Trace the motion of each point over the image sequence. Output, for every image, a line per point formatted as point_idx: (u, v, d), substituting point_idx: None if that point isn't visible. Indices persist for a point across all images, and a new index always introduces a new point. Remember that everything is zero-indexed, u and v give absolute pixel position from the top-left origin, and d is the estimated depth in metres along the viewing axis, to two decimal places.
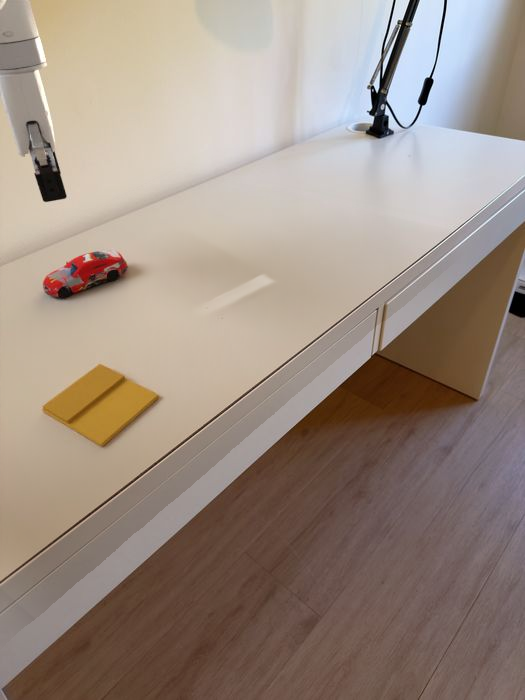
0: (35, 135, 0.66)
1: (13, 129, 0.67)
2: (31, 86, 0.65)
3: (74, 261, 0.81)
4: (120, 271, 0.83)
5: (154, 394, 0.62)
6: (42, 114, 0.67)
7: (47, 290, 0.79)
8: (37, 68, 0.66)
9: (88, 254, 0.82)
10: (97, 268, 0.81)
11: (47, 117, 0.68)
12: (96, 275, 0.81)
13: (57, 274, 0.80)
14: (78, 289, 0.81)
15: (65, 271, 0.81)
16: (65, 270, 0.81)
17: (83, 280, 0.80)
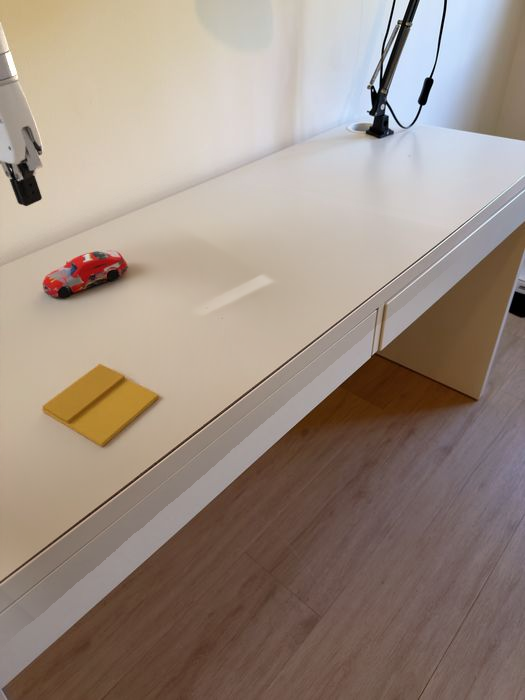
0: (33, 152, 0.73)
1: (11, 137, 0.70)
2: (20, 94, 0.70)
3: (74, 261, 0.81)
4: (120, 271, 0.83)
5: (154, 394, 0.62)
6: (32, 119, 0.72)
7: (47, 290, 0.79)
8: (17, 77, 0.70)
9: (88, 254, 0.82)
10: (97, 267, 0.81)
11: (34, 122, 0.72)
12: (96, 275, 0.81)
13: (57, 274, 0.81)
14: (78, 289, 0.81)
15: (65, 271, 0.81)
16: (65, 270, 0.81)
17: (83, 280, 0.80)
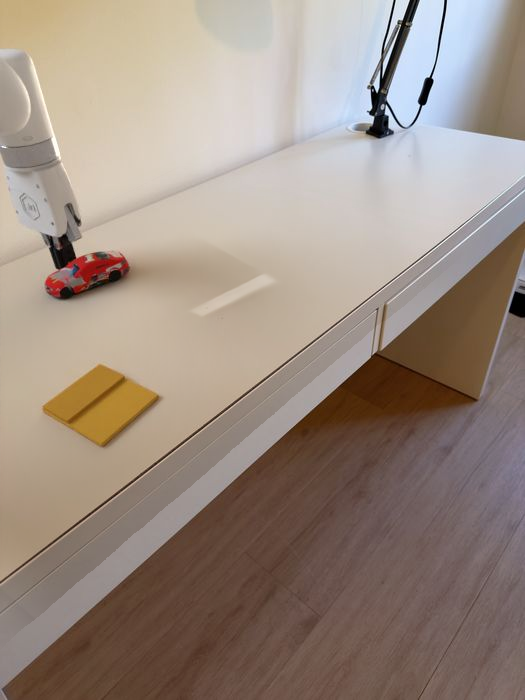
0: (73, 225, 0.77)
1: (54, 214, 0.74)
2: (64, 174, 0.74)
3: (76, 261, 0.81)
4: (122, 271, 0.83)
5: (154, 394, 0.62)
6: (73, 196, 0.76)
7: (49, 290, 0.79)
8: (60, 158, 0.74)
9: (90, 254, 0.82)
10: (99, 268, 0.81)
11: (75, 197, 0.77)
12: (98, 275, 0.81)
13: (59, 274, 0.80)
14: (80, 289, 0.80)
15: (67, 271, 0.80)
16: (67, 270, 0.81)
17: (85, 280, 0.80)
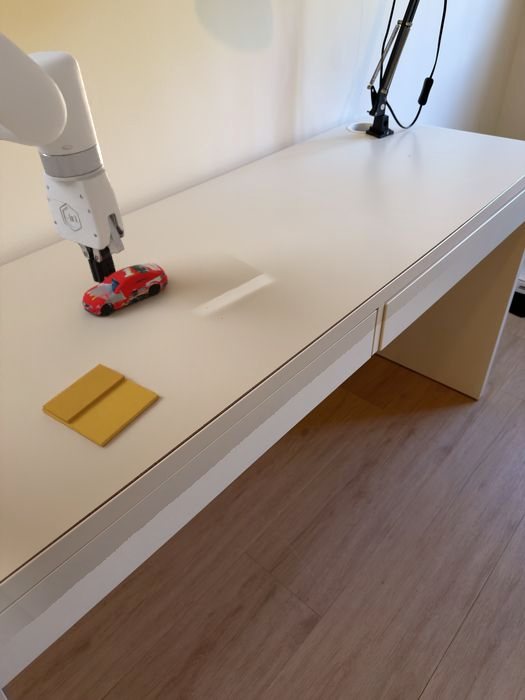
0: (116, 237, 0.73)
1: (98, 226, 0.70)
2: (108, 183, 0.70)
3: (114, 276, 0.77)
4: (161, 285, 0.79)
5: (154, 394, 0.62)
6: (117, 206, 0.72)
7: (88, 308, 0.75)
8: (103, 166, 0.70)
9: (128, 268, 0.78)
10: (139, 282, 0.77)
11: (118, 207, 0.73)
12: (138, 290, 0.77)
13: (97, 290, 0.76)
14: (120, 305, 0.77)
15: (105, 287, 0.76)
16: (105, 286, 0.77)
17: (126, 296, 0.76)
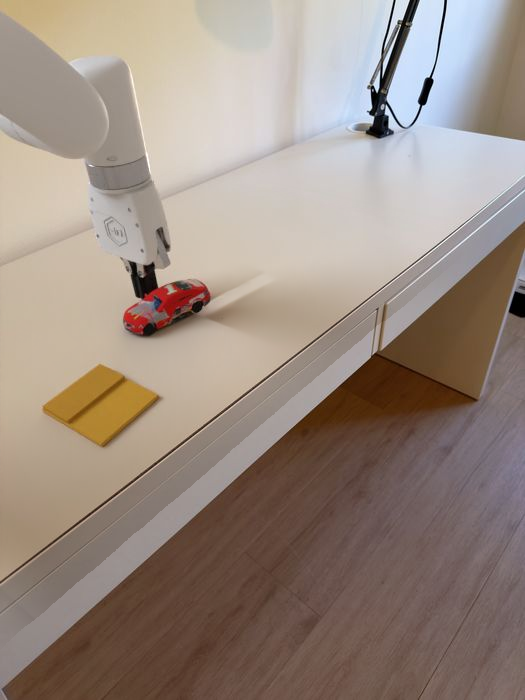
0: (163, 252, 0.69)
1: (145, 241, 0.66)
2: (156, 195, 0.66)
3: (156, 293, 0.73)
4: (204, 302, 0.75)
5: (154, 394, 0.62)
6: (164, 219, 0.68)
7: (130, 327, 0.71)
8: (151, 177, 0.66)
9: (169, 285, 0.74)
10: (183, 300, 0.73)
11: None
12: (181, 308, 0.73)
13: (138, 308, 0.72)
14: (163, 324, 0.72)
15: (147, 305, 0.72)
16: (147, 304, 0.72)
17: (169, 314, 0.72)
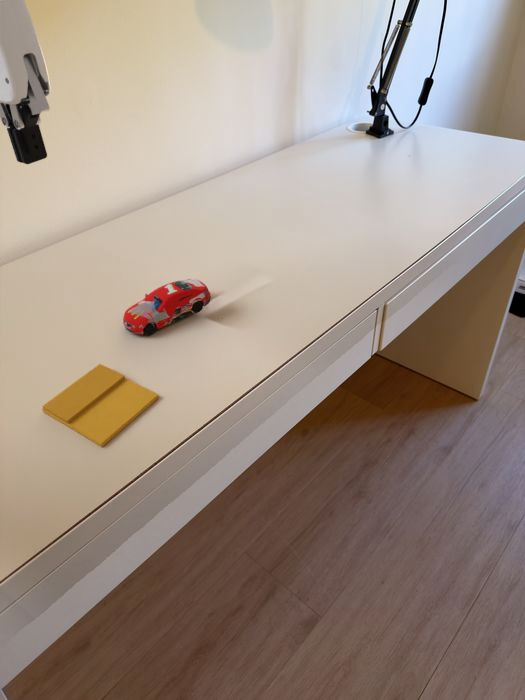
0: (38, 90, 0.57)
1: (9, 65, 0.54)
2: (23, 9, 0.53)
3: (156, 293, 0.73)
4: (205, 302, 0.75)
5: (154, 394, 0.62)
6: (37, 45, 0.55)
7: (130, 327, 0.71)
8: None
9: (170, 285, 0.74)
10: (183, 300, 0.73)
11: (41, 50, 0.56)
12: (181, 308, 0.73)
13: (138, 308, 0.72)
14: (163, 324, 0.72)
15: (147, 305, 0.72)
16: (147, 304, 0.72)
17: (169, 314, 0.72)
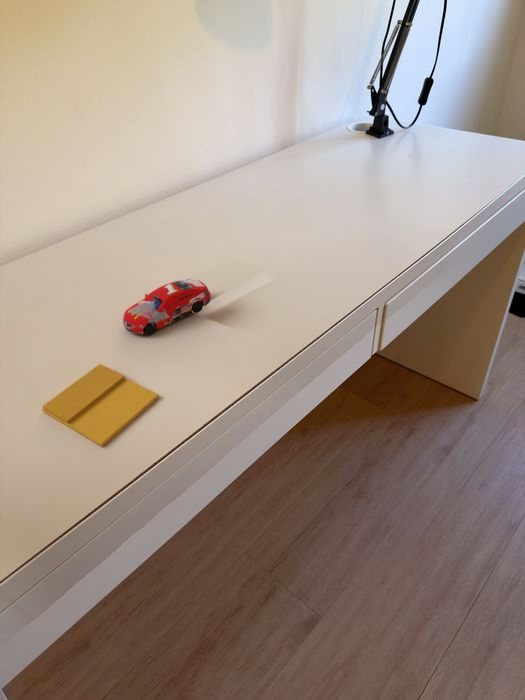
0: None
1: None
2: None
3: (156, 293, 0.73)
4: (205, 302, 0.75)
5: (154, 394, 0.62)
6: None
7: (130, 327, 0.71)
8: None
9: (169, 284, 0.74)
10: (183, 300, 0.73)
11: None
12: (181, 308, 0.73)
13: (138, 308, 0.72)
14: (163, 324, 0.72)
15: (147, 305, 0.72)
16: (147, 304, 0.72)
17: (169, 314, 0.72)
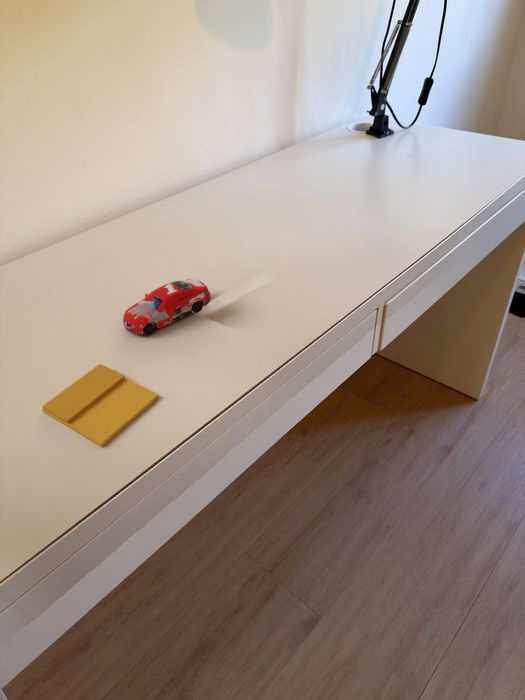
0: None
1: None
2: None
3: (156, 293, 0.73)
4: (204, 302, 0.75)
5: (154, 394, 0.62)
6: None
7: (130, 327, 0.71)
8: None
9: (169, 284, 0.74)
10: (183, 299, 0.73)
11: None
12: (181, 308, 0.73)
13: (138, 308, 0.72)
14: (163, 324, 0.72)
15: (147, 305, 0.72)
16: (147, 304, 0.72)
17: (169, 314, 0.72)
